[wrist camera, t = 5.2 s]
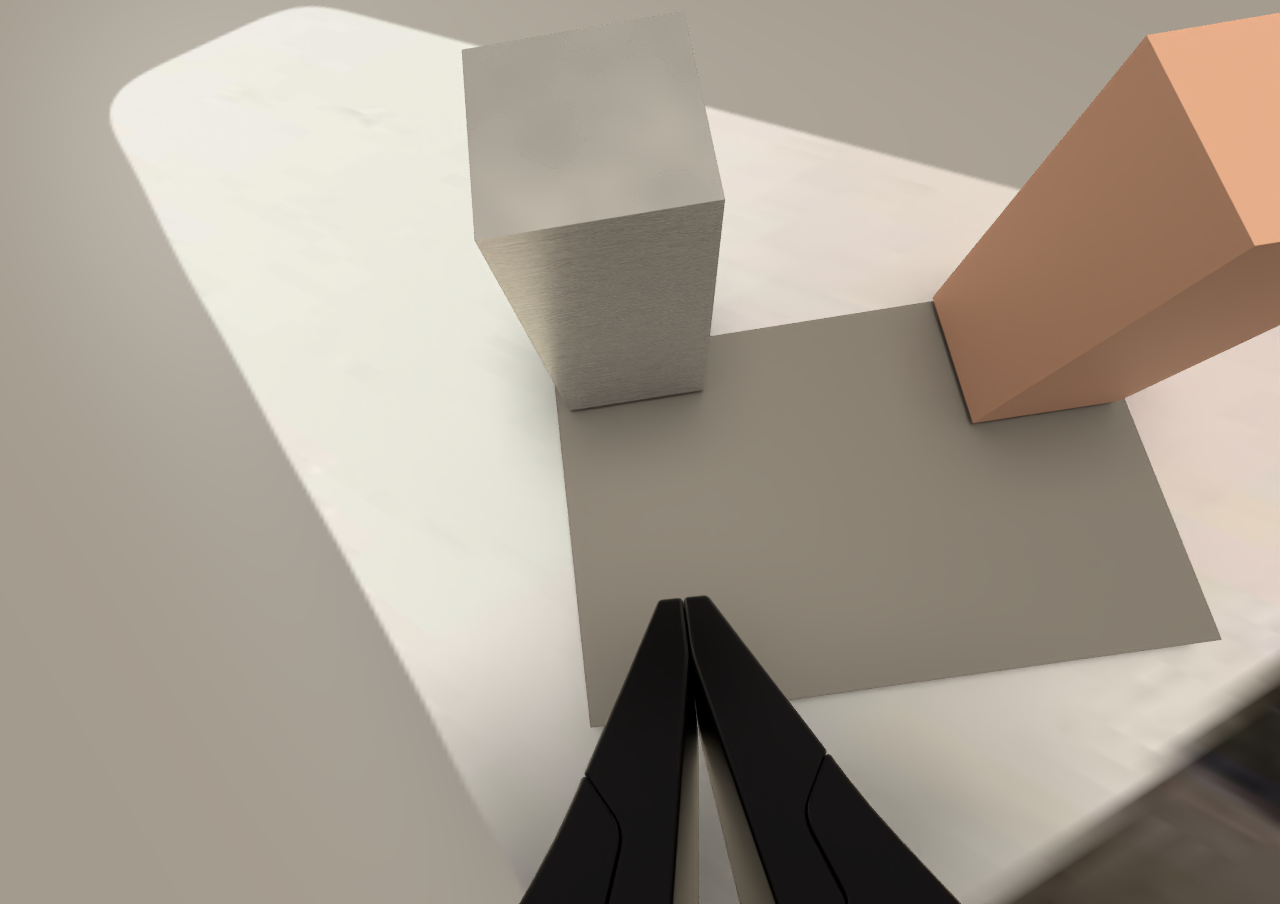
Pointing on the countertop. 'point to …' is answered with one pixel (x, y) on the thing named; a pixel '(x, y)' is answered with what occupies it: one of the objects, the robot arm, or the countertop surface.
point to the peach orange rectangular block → (1132, 234)
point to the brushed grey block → (599, 203)
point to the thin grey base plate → (868, 517)
